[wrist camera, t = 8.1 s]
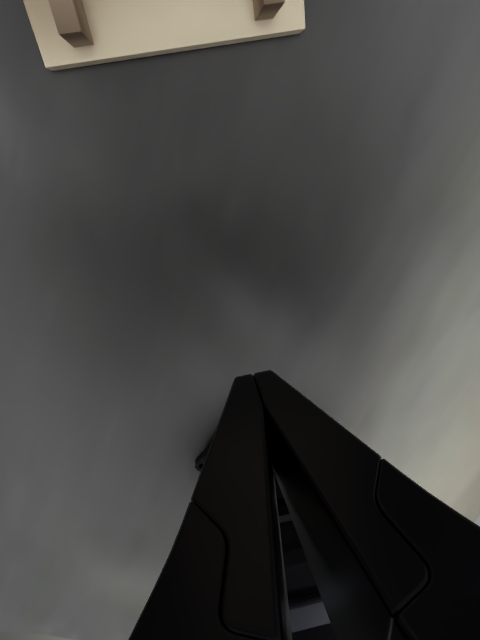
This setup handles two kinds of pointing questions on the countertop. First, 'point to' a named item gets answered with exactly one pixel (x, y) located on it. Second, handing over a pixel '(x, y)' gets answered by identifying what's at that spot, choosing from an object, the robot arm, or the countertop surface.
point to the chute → (152, 27)
